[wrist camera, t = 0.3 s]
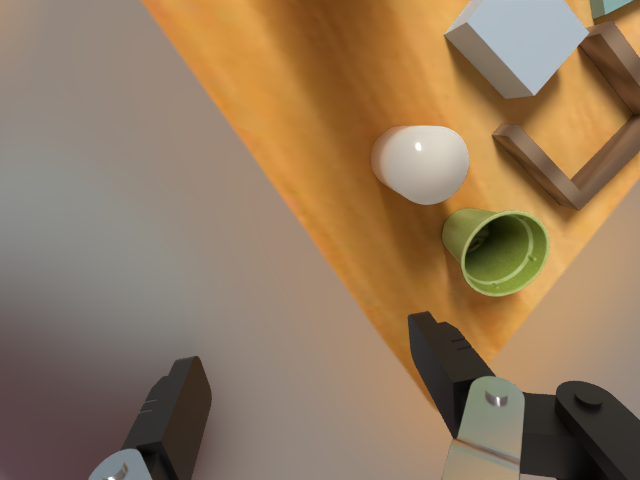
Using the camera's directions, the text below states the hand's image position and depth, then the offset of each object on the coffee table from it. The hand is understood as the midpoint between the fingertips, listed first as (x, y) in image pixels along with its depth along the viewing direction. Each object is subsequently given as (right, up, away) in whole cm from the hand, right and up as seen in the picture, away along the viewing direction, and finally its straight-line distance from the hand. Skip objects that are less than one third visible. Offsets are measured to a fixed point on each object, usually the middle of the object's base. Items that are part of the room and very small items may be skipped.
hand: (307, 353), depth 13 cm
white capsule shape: (+10, +14, +26) cm, 31 cm away
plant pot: (+19, +6, +30) cm, 36 cm away
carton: (+19, +26, +23) cm, 40 cm away
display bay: (+29, +18, +26) cm, 44 cm away
